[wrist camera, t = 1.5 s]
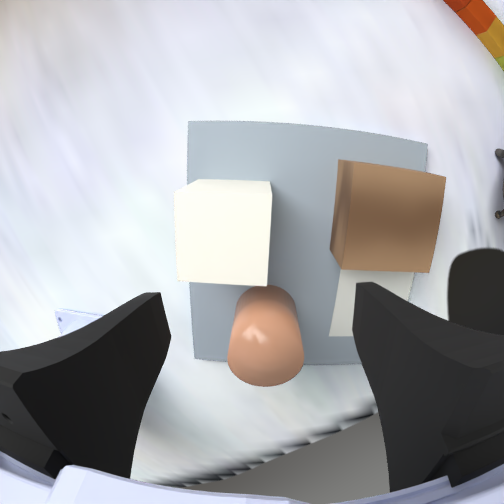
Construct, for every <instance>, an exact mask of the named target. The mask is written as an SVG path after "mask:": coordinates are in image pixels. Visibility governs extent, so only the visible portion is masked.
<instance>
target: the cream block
mask: <svg viewBox="0 0 504 504" xmlns="http://www.w3.org/2000/svg"><path fill="white" fill-rule="evenodd" d="M271 209H272V191H271V185H270V181H250V180H219V179H198V180H196V181H194V182H192V183H190V184H188V185H186V186H184V187H183V188H181V189H179V190H177V191H175V192H174V211H175V242H176V263H177V280H178V281H185V282H199V283H215V284H232V285H250V286H267V275H268V259H269V243H270V226H271Z"/></svg>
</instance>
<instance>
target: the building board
mask: <svg viewBox="0 0 504 504" xmlns="http://www.w3.org/2000/svg"><path fill="white" fill-rule="evenodd" d="M427 146H428V144H426V143H422V142H417V141H412V140H407V139H402V138H397V137H392V136H386V135H381V134H375V133H368V132H362V131H355V130H348V129H340V128H332V127H323V126H313V125H303V124H290V123H275V122H254V121H188V150H187V185H188V184H190V183H192V182H194V181H196V180H198V179H219V180H250V181H270V185H271V191H272V209H271V226H270V243H269V259H268V275H267V285H274V286H277V287H280V288H282V289H284V290H285V291H287V292H288V293H289V294H290V295H291V297H292V298H293V300H294V302H295V305H296V311H297V316H298V322H299V328H300V333H301V339H302V345H303V351H304V363H303V365H336V364H362V363H361V360H360V358H359V355H358V352H357V349H356V345H355V341H354V336H353V332H352V324H353V314H354V303H355V291H356V283H360V282H374V283H376V284H378V285H380V286H382V287H384V288H386V289H387V290H389V291H391V292H392V293H394V294H396V295H397V296H399V297H401V298H403V299H404V300H406V301H408V298H409V294H410V290H411V286H412V282H413V278H414V274H415V272H391V271H364V270H341V268H340V266H339V264H338V263H337V261H336V259H335V258H334V256H333V254H332V253H331V251H330V241H331V232H332V223H333V214H334V204H335V194H336V183H337V170H338V159H341V160H349V161H358V162H366V163H373V164H380V165H387V166H394V167H400V168H406V169H412V170H417V171H422V172H425V170H426V159H427ZM189 284H190V302H191V318H192V332H193V345H194V357H195V359H202V360H213V361H225V362H228V360H227V356H228V349H229V343H230V337H231V331H232V325H233V319H234V314H235V308H236V303H237V301H238V299H239V298H240V296H241V295H242V294H243V293H244V292H245V291H247V290H248V289H250V288H252V287H254V286H250V285H232V284H215V283H199V282H189Z"/></svg>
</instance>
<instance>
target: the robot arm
mask: <svg viewBox="0 0 504 504" xmlns="http://www.w3.org/2000/svg"><path fill="white" fill-rule="evenodd" d="M55 315H56V319H57V322H58V326H59V329H60V332H61V335H60V336H59V337H58V338H55V339H52V340H49V341H46V342H44V343H41V344H37V345H33V346H29V347H25V348H21V349H16V350H10V351H2V352H0V504H310V503H306V502H302V501H298V500H294V499H290V498H287V497H275V496H262V495H251V494H233V493H217V492H206V491H196V490H188V489H181V488H174V487H168V486H162V485H156V484H151V483H146V482H141V481H137V480H132V479H130V475H131V468H132V461H133V455H134V449H135V445H136V440H137V435H138V431H139V427H140V423H141V420H142V416H143V412H144V409H145V406H146V403H147V401H148V398H149V396H150V394H151V391H152V389H153V387H154V384H155V382H156V380H157V378H158V375H159V373H160V371H161V368H162V366H163V364H164V361H165V359H166V356H167V352H168V349H169V344H170V340H171V334H170V330H169V326H168V322H167V318H166V314H165V310H164V306H163V302H162V297H161V293H160V292H155V293H144V294H141V295H139V296H137V297H135V298H133V299H132V300H130V301H128V302H126V303H125V304H123V305H121V306H120V307H118V308H116V309H115V310H113V311H111V312H109V313H108V314H106V315H104V316H100V315H94V314H87V313H81V312H75V311H70V310H64V309H57V310H56V311H55ZM352 332H353V336H354V341H355V345H356V349H357V352H358V355H359V358H360V360H361V363H362V366H363V368H364V371H365V373H366V376H367V378H368V381H369V384H370V386H371V389H372V392H373V394H374V397H375V400H376V403H377V407H378V411H379V416H380V420H381V425H382V430H383V436H384V442H385V447H386V454H387V463H388V471H389V484H390V493H386V494H382V495H377V496H373V497H368V498H363V499H358V500H351V501H345V502H338V503H331V504H504V336H503V335H497V334H492V333H487V332H482V331H478V330H475V329H471V328H468V327H464V326H461V325H458V324H455V323H452V322H450V321H447V320H445V319H442V318H440V317H437V316H435V315H433V314H431V313H429V312H427V311H425V310H423V309H421V308H419V307H417V306H415V305H413V304H411V303H410V302H408V301H406V300H404V299H403V298H401V297H399V296H397V295H396V294H394V293H392V292H391V291H389V290H387V289H386V288H384V287H382V286H380V285H378V284H376V283H374V282H360V283H356V291H355V303H354V314H353V324H352Z"/></svg>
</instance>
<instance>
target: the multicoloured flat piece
mask: <svg viewBox="0 0 504 504" xmlns="http://www.w3.org/2000/svg"><path fill="white" fill-rule="evenodd" d="M443 1H444V2H445V3H446V4H447V5H448V6H449V7H450V8H451V9H452V10H453V11H454V12H456V14H457V15H458V16H459V17H460V18H461V19H462V20H463V21H464V22H465V23H466V24H467V26H468V27H469V28H470V29H471V30H472V31H473V32H474V34H475V35H476V36H477V37H478V38H479V39H480V41H481V42H482V43H483V44H484V46H485V47H486V48H487V49H488V51H489V52H490V53H491V54H492V56H493V57H494V58H495V60H496V61H497V62H498V64H499V65H500V67H501V68H502V69H503V71H504V25H503V24H502V23H501V21H500V20H499V19H498V18H497V16H496V15H495V14H494V13H493V12H492V10H491V9H490V8H489V7H488V6H487V5H486V4H485V2H484V1H483V0H443Z"/></svg>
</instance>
